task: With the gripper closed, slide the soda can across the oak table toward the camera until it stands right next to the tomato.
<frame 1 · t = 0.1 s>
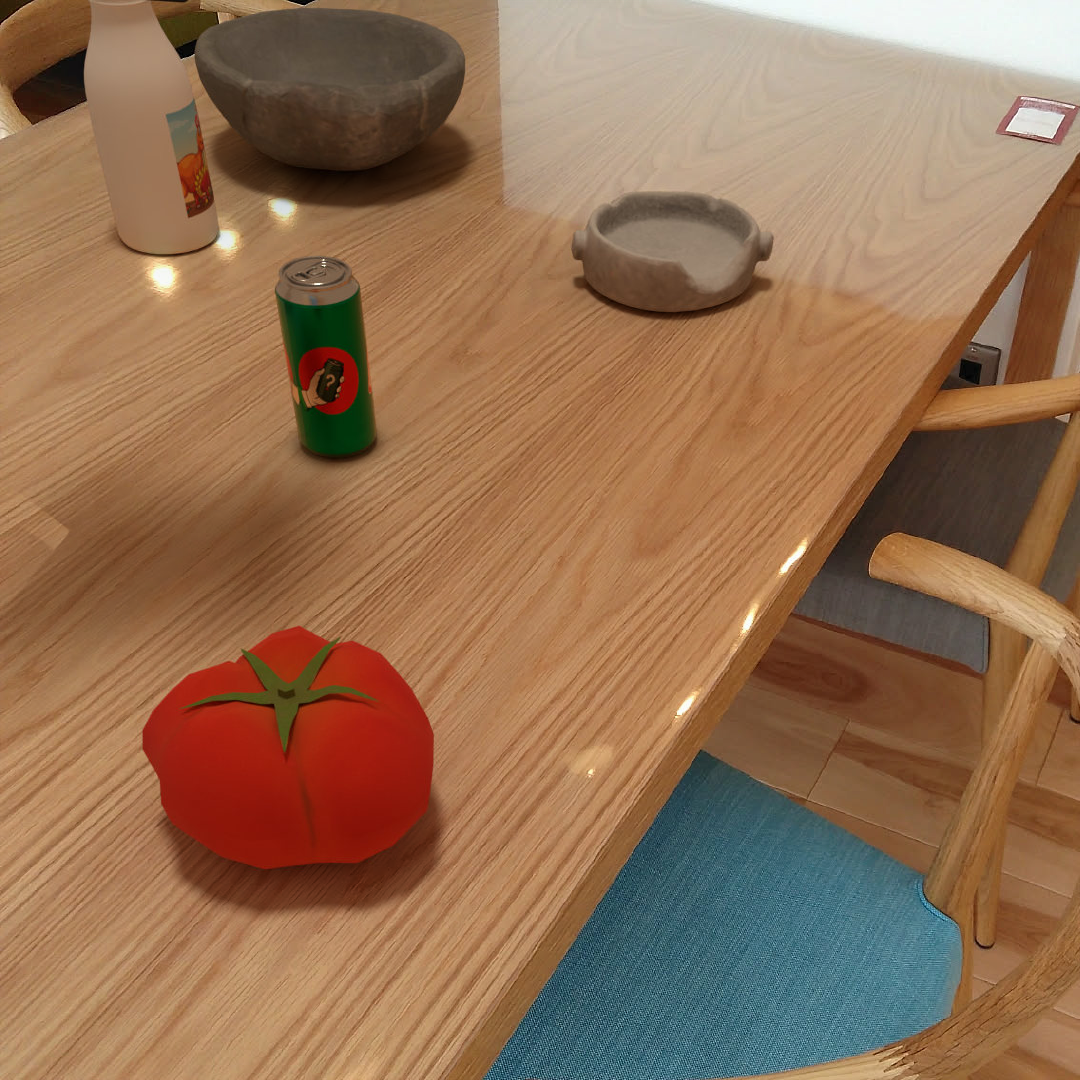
milk bottle: (170, 238, 111), on the table
bowl: (344, 157, 125), on the table
tomato: (313, 808, 69), on the table
soda can: (339, 443, 92), on the table
dish: (665, 281, 113), on the table
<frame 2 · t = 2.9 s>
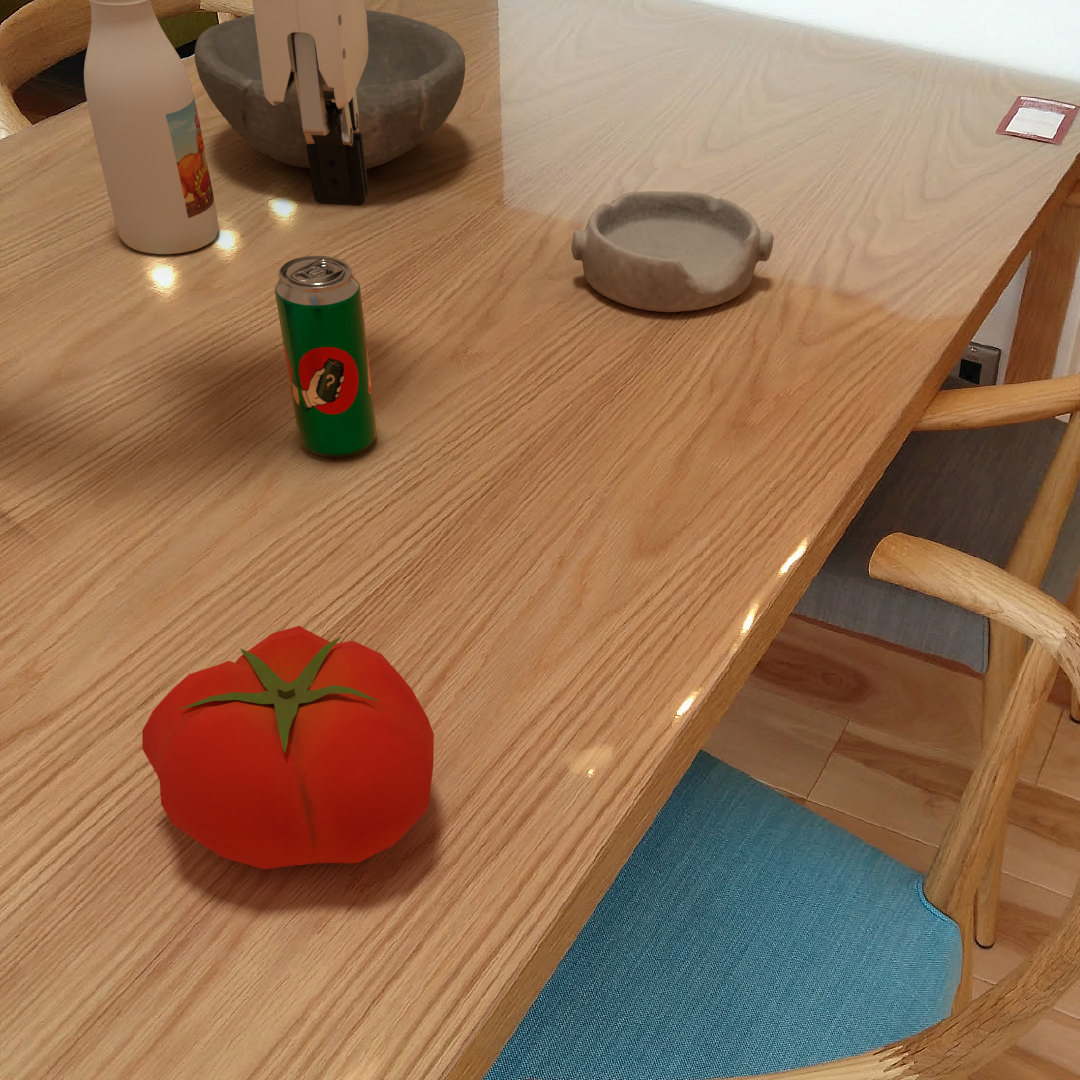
hand: (342, 198, 89), 13 cm above the table, tool pointing down, fingers closed
nothing on the table moved.
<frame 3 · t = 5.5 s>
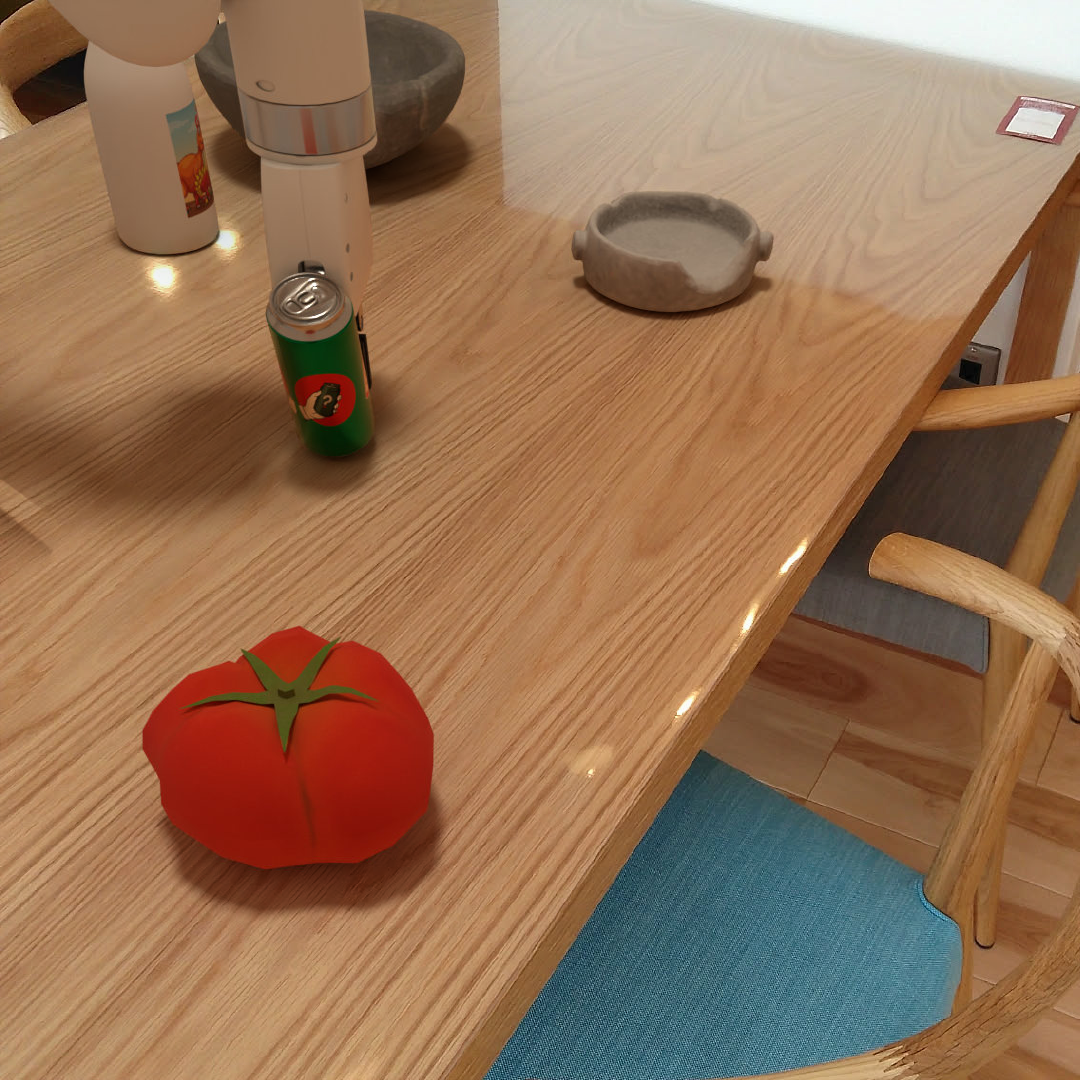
hand: (346, 391, 93), 2 cm above the table, tool pointing down, fingers closed
soda can: (337, 434, 91), point 1 cm above the table, touching gripper
everything else where it was.
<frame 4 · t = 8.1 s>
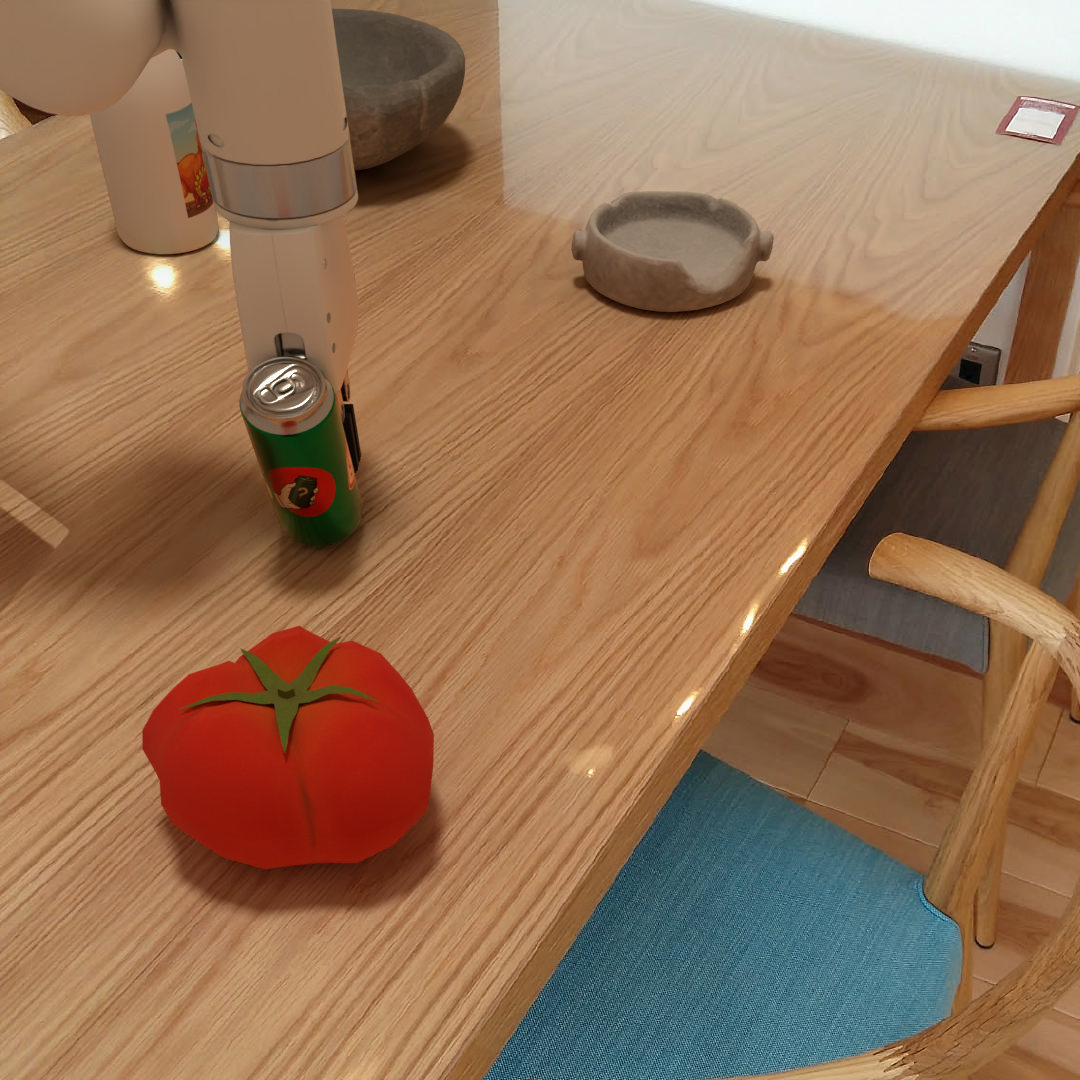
hand: (334, 466, 86), 2 cm above the table, tool pointing down, fingers closed
soda can: (322, 518, 85), point 1 cm above the table, touching gripper
everything else where it was.
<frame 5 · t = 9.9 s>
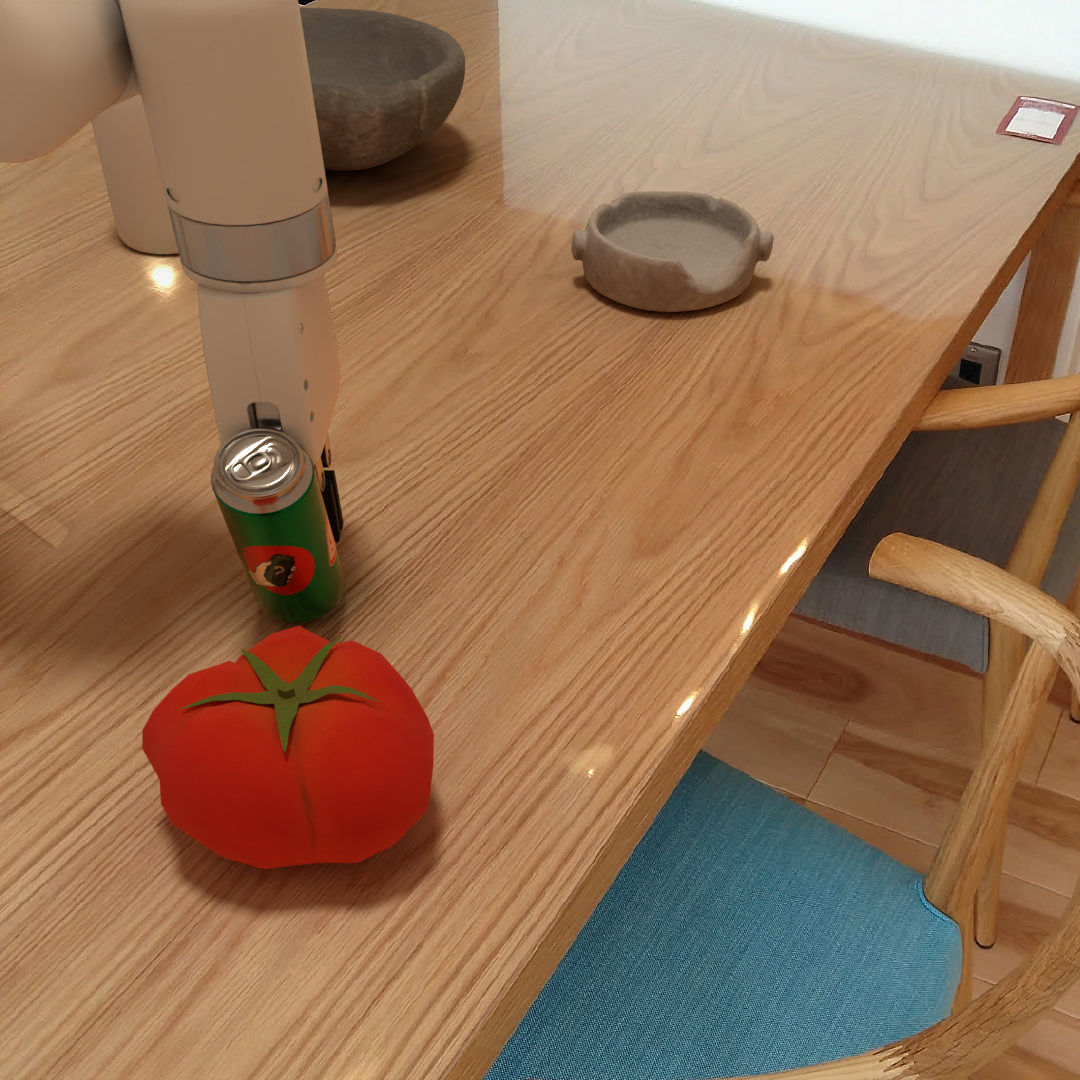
hand: (314, 534, 81), 2 cm above the table, tool pointing down, fingers closed
soda can: (302, 592, 79), point 1 cm above the table, touching gripper
everything else where it was.
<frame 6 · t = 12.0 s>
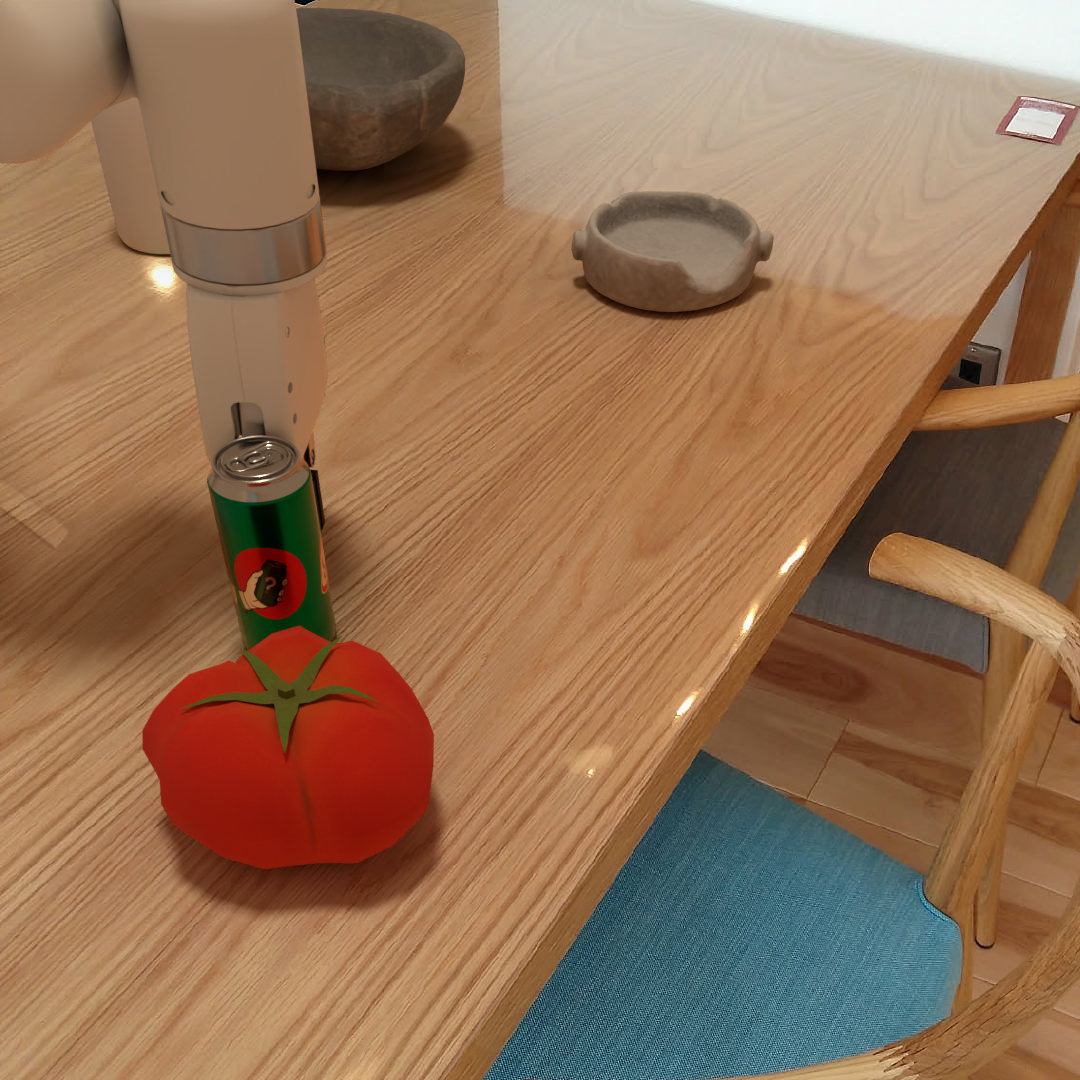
hand: (295, 532, 82), 2 cm above the table, tool pointing down, fingers closed
soda can: (291, 642, 78), on the table
everything else where it was.
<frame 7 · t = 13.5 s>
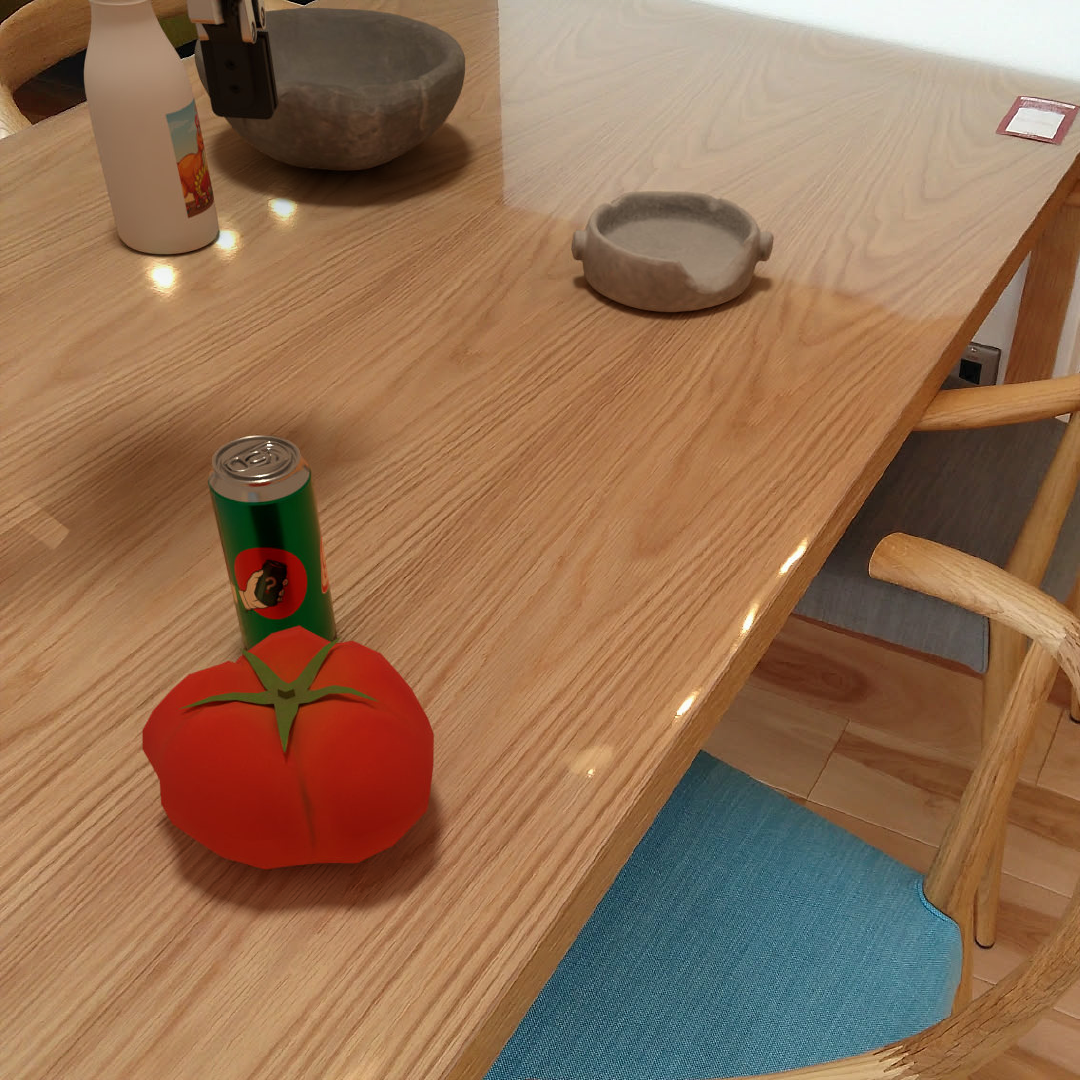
hand: (246, 111, 75), 22 cm above the table, tool pointing down, fingers closed
nothing on the table moved.
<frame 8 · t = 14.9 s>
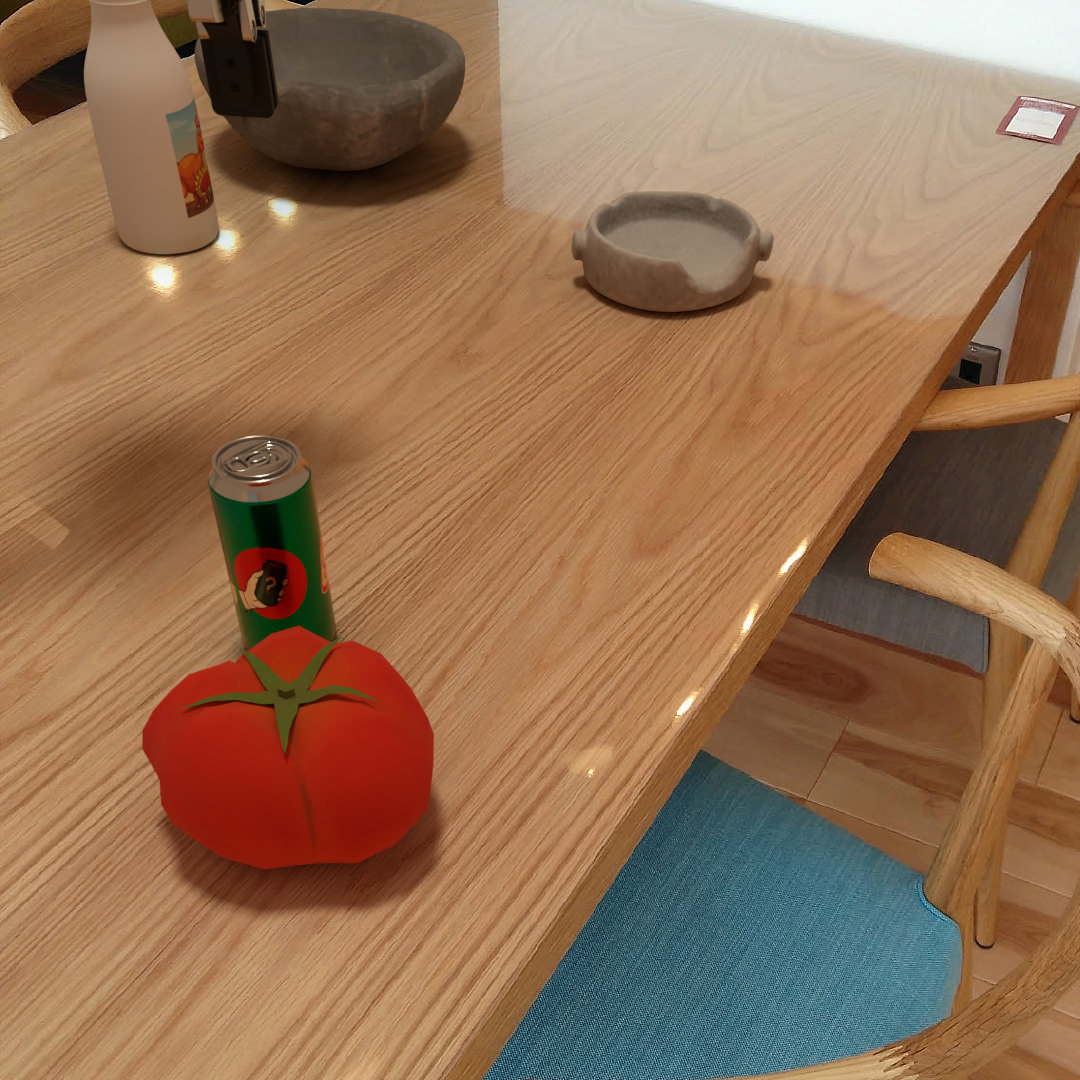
hand: (246, 110, 75), 22 cm above the table, tool pointing down, fingers closed
nothing on the table moved.
at the end: soda can 13.1 cm from the tomato (horizontally); soda can tilted 0°; soda can moved 20.4 cm from its start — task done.
